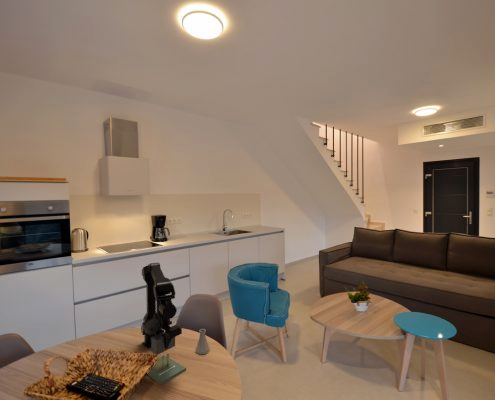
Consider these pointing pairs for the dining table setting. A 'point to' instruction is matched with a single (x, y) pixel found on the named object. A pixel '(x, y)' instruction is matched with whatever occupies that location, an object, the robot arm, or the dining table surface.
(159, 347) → the block
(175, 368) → the header board
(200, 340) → the grey flared piece
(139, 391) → the dining table surface
